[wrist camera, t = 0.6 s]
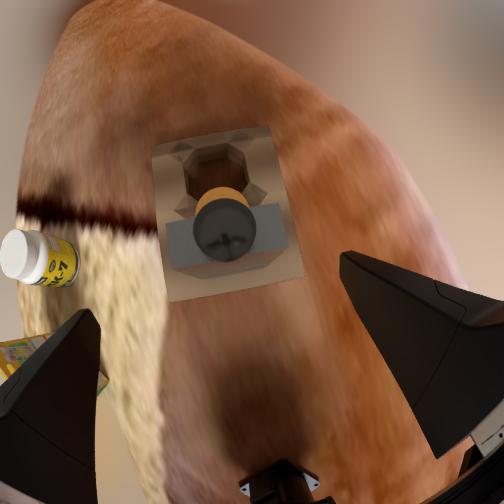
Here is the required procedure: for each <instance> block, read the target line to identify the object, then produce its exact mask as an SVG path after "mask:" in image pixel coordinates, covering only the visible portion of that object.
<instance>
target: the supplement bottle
mask: <svg viewBox="0 0 504 504" xmlns="http://www.w3.org/2000/svg"><path fill="white" fill-rule="evenodd" d="M0 263H1V267H2V270H3V272H4V273H5V275H6V276H8V277H10V278H14V279H18V280H20V281H21V282H23V283H25V284H29V285H40V286H51V287H52V286H53V287H66V286H68V285H70V284H71V283H72V282H73V281H74V280H75V279H76V277H77V275H78V272H79V268H80V258H79V254H78V252H77V250H76V248H75V247H74V246H73V245H72V244H71V243H69V242H66V241H63V240H61V239H58V238H55V237H52V236H49V235H47V234H44V233H41V232H38V231H35V230H30V231H27V232H26V231H23V230H19V229H14V230H12V231H10V232H9V233H8V234H7V235H6V237H5V238H4V240H3V243H2V246H1V250H0Z"/></svg>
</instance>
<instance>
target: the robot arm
mask: <svg viewBox="0 0 504 504" xmlns="http://www.w3.org/2000/svg"><path fill="white" fill-rule="evenodd" d="M339 274H340V279H341V281H342V283H343V285H344V287H345V289H346V291H347V293H348V296H349V298H350V300H351V302H352V304H353V306H354V308H355V310H356V312H357V314H358V316H359V318H360V319H361V321H362V323H363V324H364V326H365V328H366V329H367V331H368V333H369V334H370V336H371V338H372V339H373V341H374V343H375V344H376V346H377V348H378V349H379V351H380V353H381V355H382V356H383V358H384V360H385V362H386V363H387V365H388V367H389V369H390V370H391V372H392V374H393V376H394V378H395V379H396V381H397V383H398V385H399V387H400V388H401V390H402V392H403V394H404V396H405V398H406V400H407V402H408V403H409V405H410V407H411V409H413V410H412V411H413V413H414V415H415V417H416V419H417V421H418V423H419V425H420V427H421V429H422V431H423V433H424V435H425V437H426V439H427V441H428V443H429V445H430V448H431V450H432V452H433V454H434V456H435V458H436V459H439V458H440V457H442V456H443V455H445V454H446V453H447V452H449V451H450V450H452V449H453V448H454V447H456V446H457V445H459V444H460V443H461V442H463V441H464V440H465V439H466V438H468V437H469V436H471V438H472V440H473V441H474V443H475V444H474V445H473V446H472V447H471V448H469V449H468V450H467V451H466V452H465V454H464V458H463V462H462V465H461V469H460V472H459V475H458V478H457V479H456V480H455V481H454V482H452V483H451V484H449V485H448V486H447V487H445V488H444V489H442V490H441V491H439V492H438V493H436V494H435V495H433V496H431V497H430V498H428V499H427V500H425V501H423V502H422V503H420V504H504V301H500V300H496V299H492V298H489V297H486V296H483V295H480V294H476V293H473V292H470V291H466V290H463V289H460V288H457V287H454V286H451V285H448V284H446V283H443V282H440V281H437V280H433V279H432V278H429V277H426V276H424V275H421V274H418V273H415V272H413V271H410V270H407V269H404V268H401V267H399V266H396V265H393V264H390V263H387V262H384V261H381V260H379V259H376V258H373V257H370V256H367V255H364V254H361V253H358V252H355V251H352V250H350V251H346V252H342V253H341V254H340V268H339ZM100 340H101V328H100V325H99V323H98V322H97V320H96V318H95V317H94V315H93V313H92V312H91V310H90V309H88V308H87V309H81V310H79V311H77V312H76V313H75V314H74V315H73V316H72V317H71V318H70V319H69V320H67V321H66V322H65V323H64V324H63V325H62V326H61V327H60V328H59V329H58V330H57V331H56V332H54V333H53V334H52V335H51V336H50V337H49V338H48V339H47V340H46V341H45V342H44V343H43V344H42V345H41V346H40V347H39V348H38V349H37V350H36V351H35V352H34V353H33V354H32V355H31V356H30V357H29V358H28V359H27V360H26V361H25V362H24V363H23V364H22V365H21V366H20V367H19V368H18V369H17V370H16V371H15V372H14V373H13V374H12V375H11V376H10V377H9V378H8V379H7V380H6V381H5V382H4V383H3V384H2V385H1V386H0V504H98V500H97V488H96V472H95V416H96V400H97V387H98V377H99V367H100ZM283 462H285V463H284V464H282V463H283ZM316 483H317V484H316ZM314 484H315V485H314ZM319 486H320V482H319V480H317V479H315V478H314V477H312V476H311V475H309V474H308V473H306V472H305V471H303V470H302V469H300V468H299V467H297V466H296V465H294V464H293V463H291V462H290V461H288V460H287V459H281V460H279V461H278V462H276V463H275V464H274V465H272V466H271V467H269V468H268V469H265V470H264V471H262V472H261V473H259V474H258V475H256V476H254V477H253V478H251V479H250V480H249V481H248V482H246V483H244V484H243V485H241V486H240V491H241V492H242V493H244V494H246V495H247V496H249V497H250V503H251V504H336V503H335V501H334V500H333V498H332V497H331V496H329V497H326V498H325V499H322V500H319V501H316V502H315V501H314V499H313V496H312V494H311V491H313V490H314V489H316V488H317V487H319ZM243 488H246V489H243Z"/></svg>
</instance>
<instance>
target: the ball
mask: <svg viewBox="0 0 504 504" xmlns="http://www.w3.org/2000/svg"><path fill="white" fill-rule="evenodd" d="M221 198H230V199H234V200H237V201H239V202H241V203H243V204H244V205H246V206H247V207H249V205H248V203H247V201H246V199H245V198H244V196H243V195H242V194H241V193H239V192H238V191H236V190H234V189H232V188H228V187H217V188H214V189H211V190H209V191H208V192H206V193H205V194H204V195H203V196H202V197H201V199H200V200H199V202H198V204H197V207H196V212H195V217H196V215H197V214H198V212H199V211H200V209H201V208H202V207H203V206H205V205H206V204H207V203H209V202H211V201H213V200H216V199H221Z"/></svg>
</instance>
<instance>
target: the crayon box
mask: <svg viewBox="0 0 504 504" xmlns="http://www.w3.org/2000/svg"><path fill="white" fill-rule="evenodd" d="M53 333H54V332H52V333H48V334H43V335H38V336H33V337H28V338H22V339H17V340H12V341H6V342H0V372H1V374H2V375H3V376H4V378H5V379H6V380H7V379H8V378H9V377H10V376H11V375H12V374H13V373H14V372H15V371H16V370H17V369H18V368H19V367H20V366H21V365H22V364H23V363H24V362H25V361H26V360H27V359H28V358H29V357H30V356H31V355H32V354H33V353H34V352H35V351H36V350H37V349H38V348H39V347H40V346H41V345H42V344H43V343H44V342H45V341H46V340H47V339H48V338H49V337H50V336H51V335H52V334H53ZM108 383H109V379H108V378H107V377H106V376H104V375H103V374H102V373H101V372H100V371H99V377H98V387H97V396H98V395H99V394H100V393H101V391H102V390H103V389H104V388H105V387H106V385H107V384H108Z"/></svg>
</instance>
